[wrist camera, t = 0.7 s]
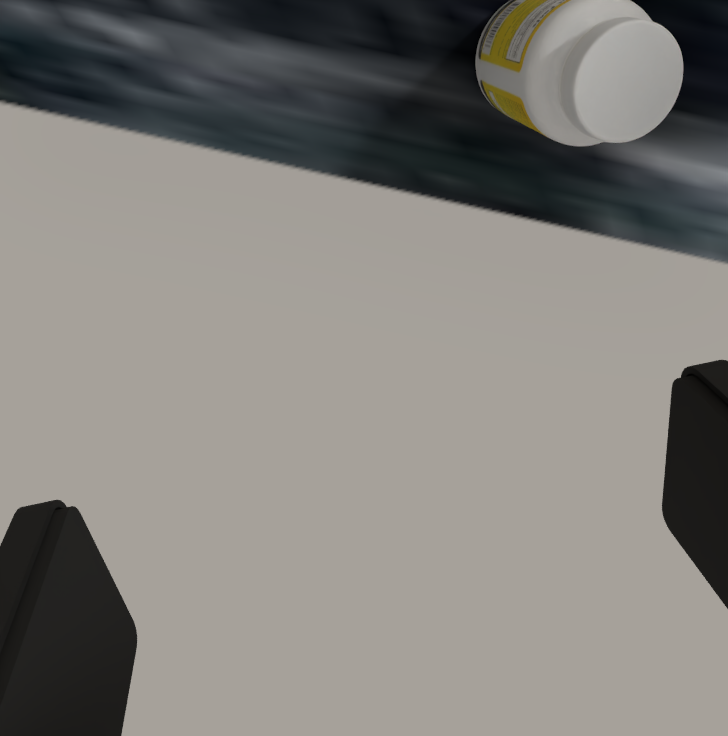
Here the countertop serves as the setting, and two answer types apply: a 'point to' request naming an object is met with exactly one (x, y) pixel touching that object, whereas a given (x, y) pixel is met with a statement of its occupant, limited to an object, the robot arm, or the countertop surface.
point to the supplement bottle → (579, 69)
